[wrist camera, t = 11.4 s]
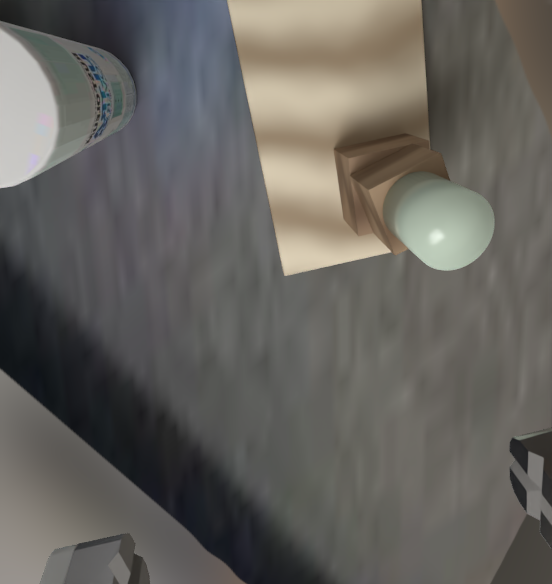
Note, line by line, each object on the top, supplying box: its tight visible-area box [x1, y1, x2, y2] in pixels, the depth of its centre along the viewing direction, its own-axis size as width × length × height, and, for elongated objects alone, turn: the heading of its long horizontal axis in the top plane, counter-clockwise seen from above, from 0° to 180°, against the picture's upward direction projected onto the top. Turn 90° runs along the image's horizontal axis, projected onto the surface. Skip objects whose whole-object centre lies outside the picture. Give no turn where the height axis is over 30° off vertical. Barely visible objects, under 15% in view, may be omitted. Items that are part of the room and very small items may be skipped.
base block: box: [334, 133, 430, 236], centre depth 38 cm, size 6×6×5 cm
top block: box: [350, 143, 450, 255], centre depth 34 cm, size 5×5×5 cm
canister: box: [383, 171, 495, 270], centre depth 29 cm, size 5×5×6 cm
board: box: [227, 0, 430, 276], centre depth 39 cm, size 22×14×1 cm, turn 11°
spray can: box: [0, 21, 136, 188], centre depth 28 cm, size 6×6×20 cm
